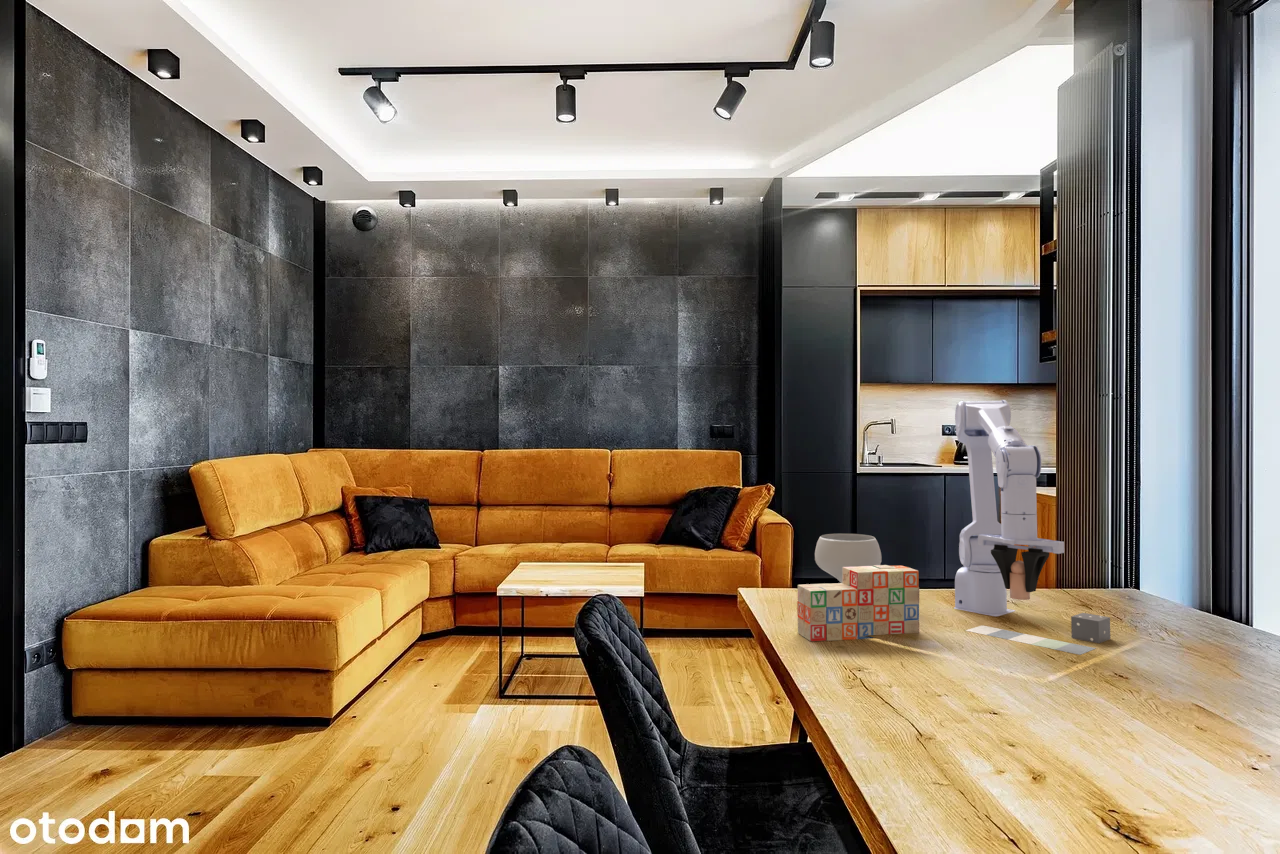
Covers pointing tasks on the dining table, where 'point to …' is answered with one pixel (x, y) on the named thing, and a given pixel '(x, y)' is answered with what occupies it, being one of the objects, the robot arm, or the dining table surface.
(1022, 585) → the pawn
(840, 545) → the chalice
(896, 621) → the stack of blocks
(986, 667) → the dining table surface
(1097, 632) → the die
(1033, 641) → the board
